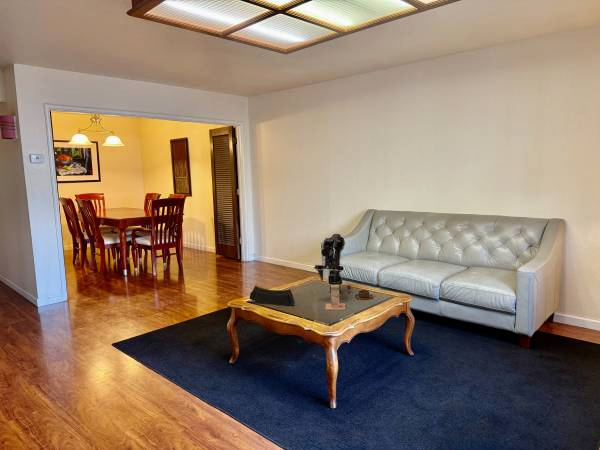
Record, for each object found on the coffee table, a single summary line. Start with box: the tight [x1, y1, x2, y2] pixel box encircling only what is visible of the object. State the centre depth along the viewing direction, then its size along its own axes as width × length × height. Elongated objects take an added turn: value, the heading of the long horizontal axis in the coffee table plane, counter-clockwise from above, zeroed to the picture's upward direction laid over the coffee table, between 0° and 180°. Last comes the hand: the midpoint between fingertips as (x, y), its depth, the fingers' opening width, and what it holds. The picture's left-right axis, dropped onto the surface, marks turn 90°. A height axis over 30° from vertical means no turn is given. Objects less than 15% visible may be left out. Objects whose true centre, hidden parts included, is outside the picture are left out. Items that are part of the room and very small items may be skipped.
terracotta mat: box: [325, 302, 346, 311], centre depth 255 cm, size 12×12×1 cm
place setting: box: [346, 284, 374, 301], centre depth 277 cm, size 18×20×6 cm
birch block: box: [330, 285, 340, 308], centre depth 254 cm, size 5×5×13 cm
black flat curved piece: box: [249, 285, 296, 306], centre depth 264 cm, size 17×3×30 cm
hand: (328, 281), depth 270 cm, fingers open, 9 cm apart
